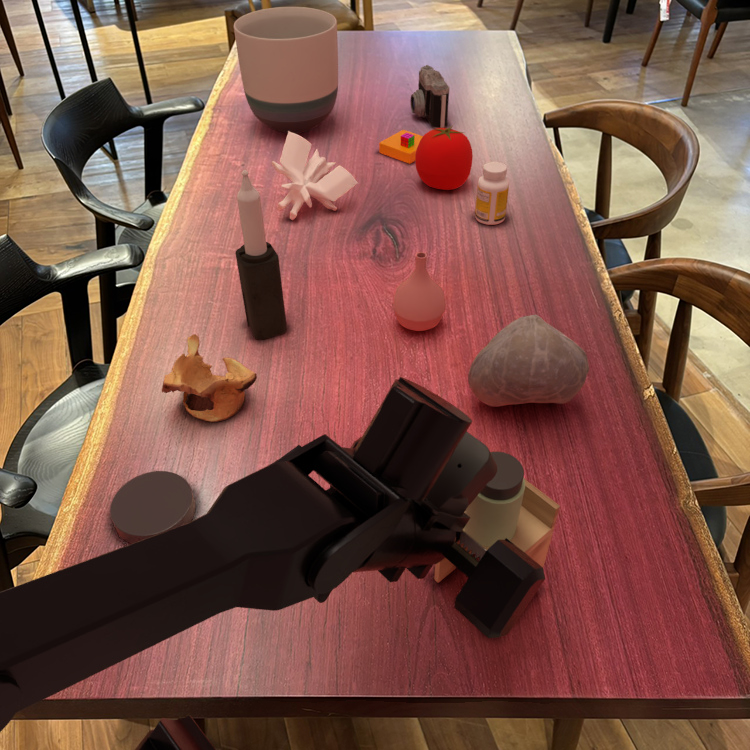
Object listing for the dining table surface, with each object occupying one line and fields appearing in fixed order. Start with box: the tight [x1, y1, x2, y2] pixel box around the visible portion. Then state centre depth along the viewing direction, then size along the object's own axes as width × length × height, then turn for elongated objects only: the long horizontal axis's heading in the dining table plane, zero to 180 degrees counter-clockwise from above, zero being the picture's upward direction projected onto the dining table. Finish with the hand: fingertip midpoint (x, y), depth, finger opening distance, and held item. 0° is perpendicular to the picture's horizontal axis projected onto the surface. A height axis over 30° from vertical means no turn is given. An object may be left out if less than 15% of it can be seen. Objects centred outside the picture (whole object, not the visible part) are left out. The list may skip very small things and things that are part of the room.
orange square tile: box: [378, 129, 424, 165], centre depth 146 cm, size 8×8×4 cm
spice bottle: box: [464, 451, 526, 547], centre depth 63 cm, size 5×5×8 cm
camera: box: [410, 64, 450, 129], centre depth 157 cm, size 15×7×10 cm, turn 12°
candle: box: [235, 169, 288, 341], centre depth 97 cm, size 5×5×25 cm
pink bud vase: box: [391, 251, 447, 332], centre depth 102 cm, size 8×8×12 cm
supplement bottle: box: [474, 161, 510, 226], centre depth 124 cm, size 5×5×10 cm
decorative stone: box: [467, 314, 590, 408], centre depth 88 cm, size 15×10×15 cm
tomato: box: [414, 125, 474, 191], centre depth 133 cm, size 10×11×11 cm
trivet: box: [109, 470, 196, 544], centre depth 81 cm, size 9×9×2 cm
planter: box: [233, 6, 339, 134], centre depth 149 cm, size 20×20×21 cm
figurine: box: [271, 131, 359, 221], centre depth 130 cm, size 15×12×14 cm
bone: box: [161, 333, 258, 424], centre depth 92 cm, size 12×10×8 cm
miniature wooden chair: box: [433, 478, 561, 584], centre depth 69 cm, size 7×8×14 cm
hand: (472, 528), depth 63 cm, fingers open, 9 cm apart
